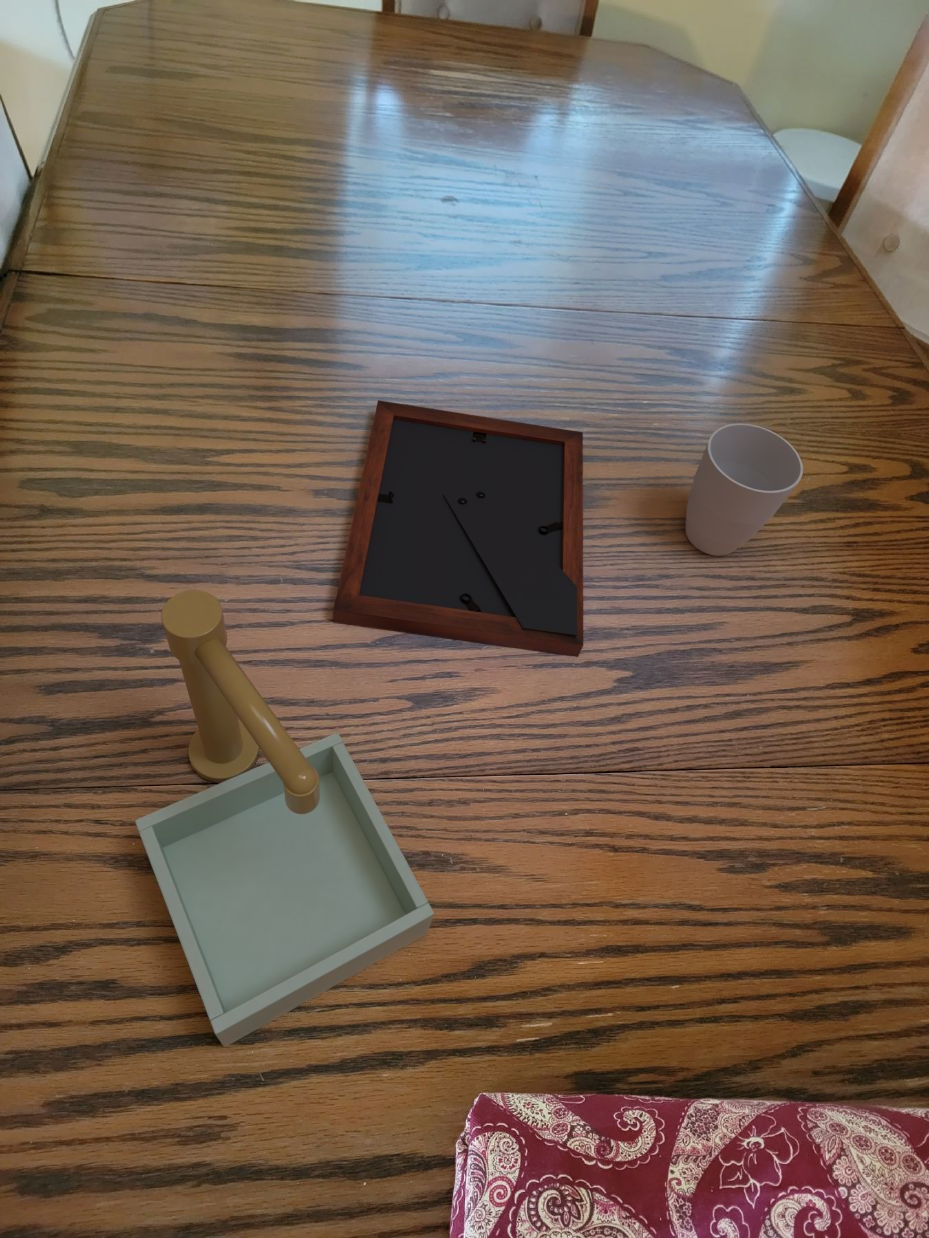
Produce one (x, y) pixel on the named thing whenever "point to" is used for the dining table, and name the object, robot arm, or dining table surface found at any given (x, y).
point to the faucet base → (216, 730)
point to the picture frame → (467, 531)
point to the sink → (281, 889)
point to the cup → (739, 486)
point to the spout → (238, 690)
